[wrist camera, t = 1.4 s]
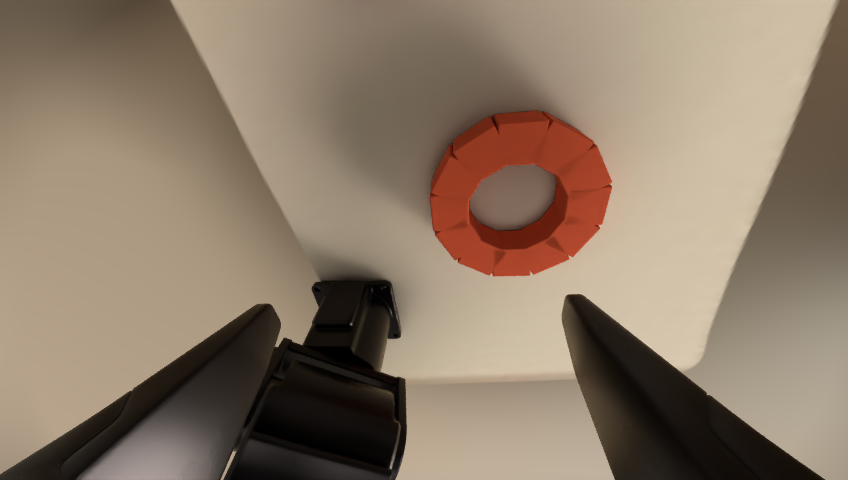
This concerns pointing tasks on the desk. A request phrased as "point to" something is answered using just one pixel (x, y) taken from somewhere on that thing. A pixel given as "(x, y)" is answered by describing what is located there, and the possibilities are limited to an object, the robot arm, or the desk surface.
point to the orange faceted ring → (518, 145)
